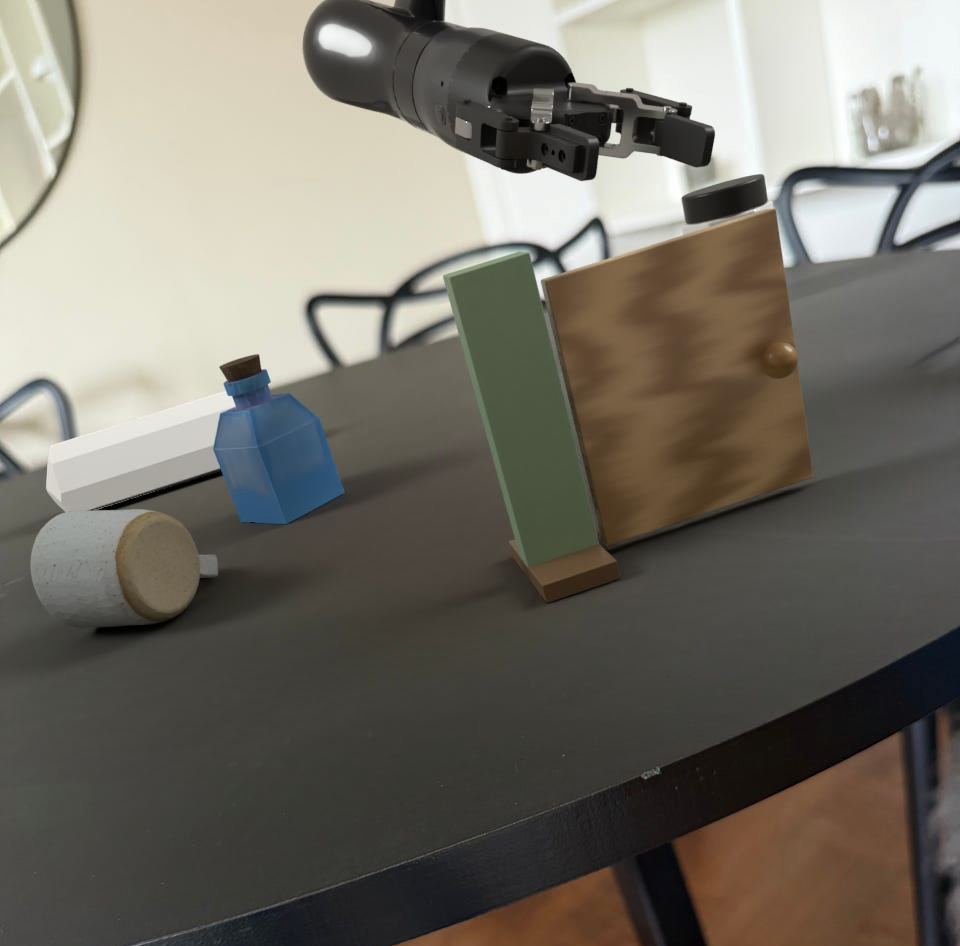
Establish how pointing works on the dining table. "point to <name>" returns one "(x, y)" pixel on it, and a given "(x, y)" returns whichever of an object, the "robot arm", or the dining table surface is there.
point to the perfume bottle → (271, 449)
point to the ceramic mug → (116, 567)
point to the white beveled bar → (136, 455)
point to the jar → (724, 202)
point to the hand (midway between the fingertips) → (653, 154)
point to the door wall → (528, 425)
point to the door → (682, 375)
